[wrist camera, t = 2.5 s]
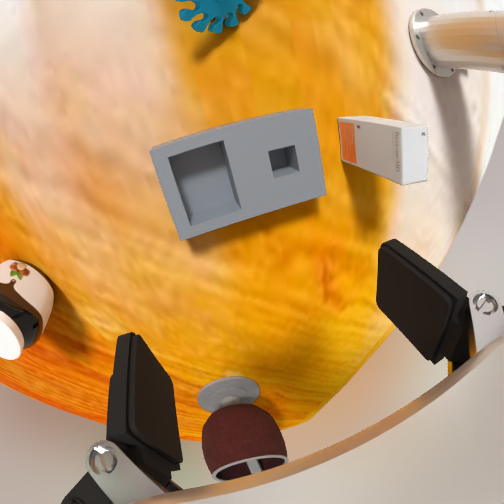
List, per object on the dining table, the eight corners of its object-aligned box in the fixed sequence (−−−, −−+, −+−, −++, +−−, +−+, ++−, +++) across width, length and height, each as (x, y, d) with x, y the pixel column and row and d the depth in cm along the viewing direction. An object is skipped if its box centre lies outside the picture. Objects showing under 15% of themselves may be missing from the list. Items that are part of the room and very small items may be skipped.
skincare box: (335, 117, 31) (401, 125, 21) (362, 115, 32) (429, 124, 22) (340, 162, 34) (402, 187, 24) (365, 158, 35) (429, 181, 25)
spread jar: (64, 281, 31) (37, 340, 21) (46, 331, 34) (26, 388, 24) (-2, 238, 26) (-45, 284, 16) (-12, 295, 28) (-43, 344, 18)
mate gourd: (180, 389, 46) (196, 488, 29) (250, 363, 47) (288, 463, 30) (214, 421, 54) (234, 500, 37) (272, 400, 55) (304, 478, 38)
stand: (297, 108, 30) (312, 108, 26) (311, 185, 35) (326, 194, 31) (152, 147, 28) (149, 151, 24) (179, 227, 33) (180, 241, 29)
